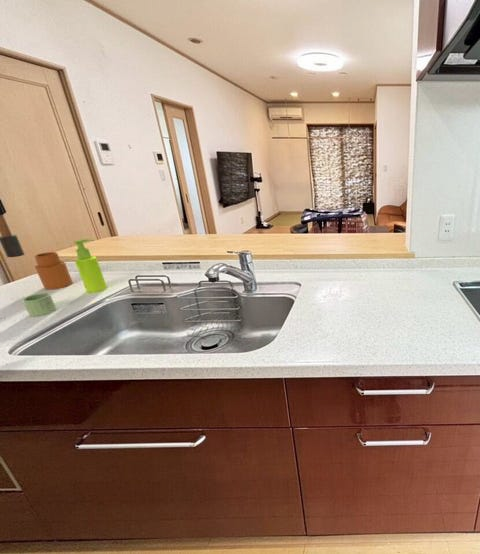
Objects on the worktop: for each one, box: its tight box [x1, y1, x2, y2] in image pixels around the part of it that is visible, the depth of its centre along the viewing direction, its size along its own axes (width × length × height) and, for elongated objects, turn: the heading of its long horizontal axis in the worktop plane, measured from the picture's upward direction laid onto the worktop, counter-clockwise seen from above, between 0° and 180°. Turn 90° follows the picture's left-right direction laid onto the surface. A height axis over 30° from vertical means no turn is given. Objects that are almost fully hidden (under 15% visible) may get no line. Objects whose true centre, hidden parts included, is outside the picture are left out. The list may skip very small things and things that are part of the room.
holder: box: [21, 292, 58, 318], centre depth 96 cm, size 6×6×6 cm
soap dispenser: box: [73, 238, 108, 294], centre depth 110 cm, size 6×7×20 cm
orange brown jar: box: [34, 251, 74, 291], centre depth 115 cm, size 8×8×13 cm
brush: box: [0, 215, 25, 258], centre depth 86 cm, size 4×4×18 cm
